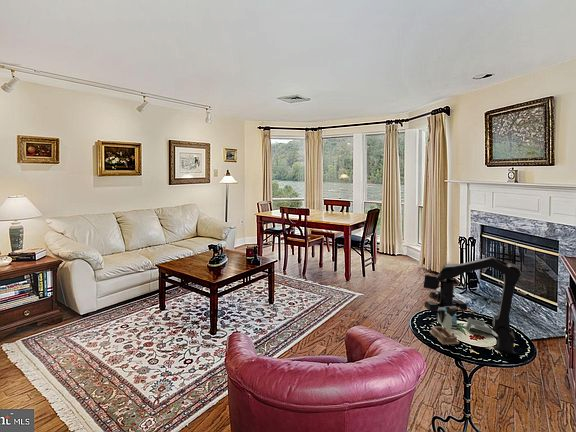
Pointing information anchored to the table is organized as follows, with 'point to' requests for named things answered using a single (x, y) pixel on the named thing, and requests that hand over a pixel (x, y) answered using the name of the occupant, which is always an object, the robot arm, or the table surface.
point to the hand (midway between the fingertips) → (444, 322)
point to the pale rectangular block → (446, 321)
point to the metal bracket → (479, 326)
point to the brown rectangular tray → (444, 335)
